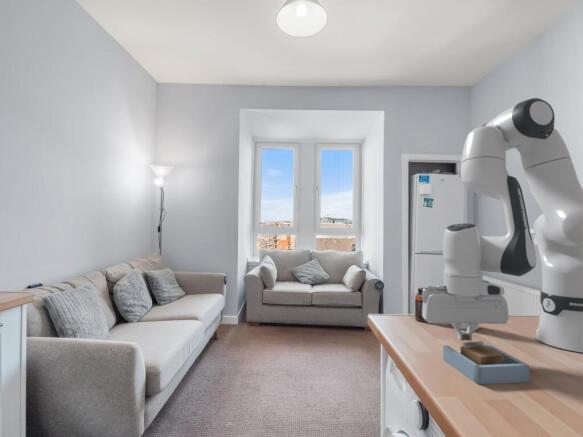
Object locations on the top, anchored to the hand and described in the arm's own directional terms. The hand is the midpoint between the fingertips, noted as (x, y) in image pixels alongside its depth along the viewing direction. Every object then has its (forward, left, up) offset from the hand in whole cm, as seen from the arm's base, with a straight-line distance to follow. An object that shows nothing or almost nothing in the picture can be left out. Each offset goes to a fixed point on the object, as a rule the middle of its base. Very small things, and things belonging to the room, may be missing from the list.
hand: (464, 339), depth 79 cm
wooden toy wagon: (+1, +8, -4) cm, 9 cm away
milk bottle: (-16, -21, -4) cm, 27 cm away
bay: (+1, +8, -4) cm, 9 cm away
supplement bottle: (-6, -29, -4) cm, 30 cm away
